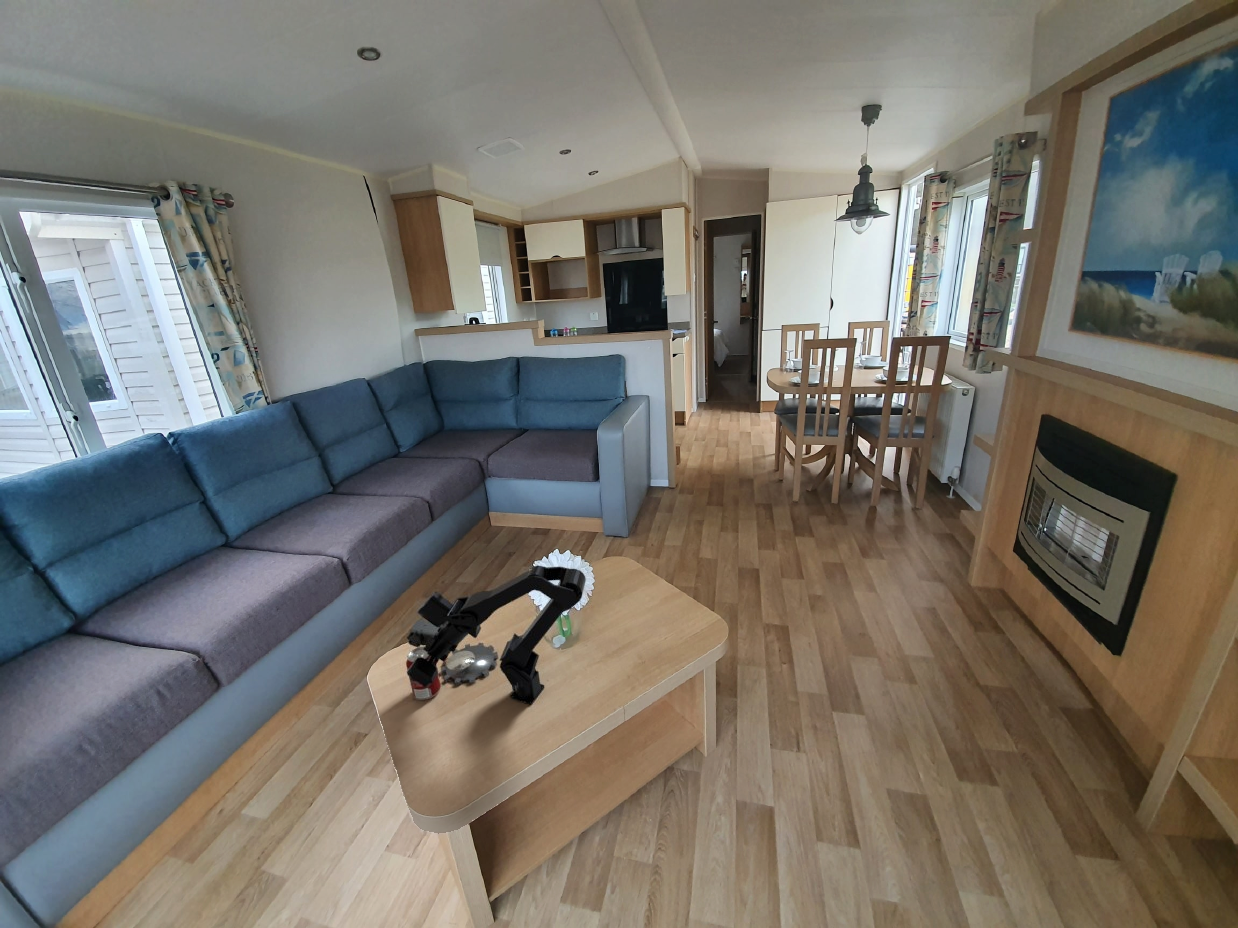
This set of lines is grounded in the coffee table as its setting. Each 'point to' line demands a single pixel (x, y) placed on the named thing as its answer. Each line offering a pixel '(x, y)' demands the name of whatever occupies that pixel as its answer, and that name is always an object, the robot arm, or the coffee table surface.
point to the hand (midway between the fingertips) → (417, 670)
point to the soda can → (417, 688)
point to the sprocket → (469, 663)
